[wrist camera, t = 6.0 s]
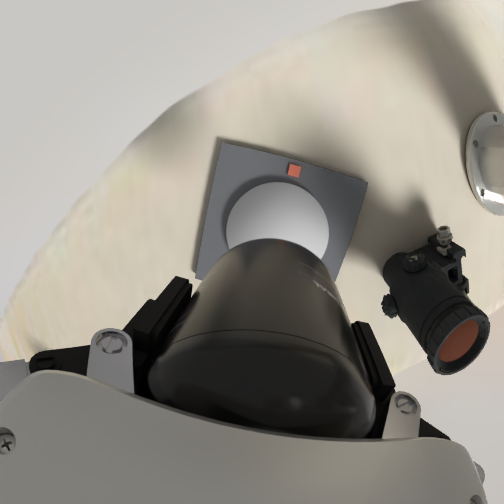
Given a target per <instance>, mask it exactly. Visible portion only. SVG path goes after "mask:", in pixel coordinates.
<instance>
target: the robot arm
mask: <svg viewBox="0 0 504 504" xmlns="http://www.w3.org/2000/svg"><path fill="white" fill-rule="evenodd" d="M466 167H467V174H468V178H469V182H470V185H471V188H472V190H473V193H474V195H475V197H476V199H477V200H478V202H479V203H480V204H481V206H482V207H483V208H484V209H485V210H487V211H488V212H490V213H492V214H494V215H498V216H504V115H502V114H500V113H498V112H487V113H483V114H481V115H479V116H478V117H477V118H476V119H475V120H474V122H473V123H472V125H471V127H470V130H469V133H468V137H467V142H466ZM191 293H192V284H190V283H189V280H188V279H185V278H181V277H178V276H175V277H174V279H173V280H172V281H171V282H170V283H169V284H168V286H167V287H166V288H165V289H164V290H163V292H162V293H161V294H160V295H159V297H158V298H157V299H156V300H152V299H149V300H148V301H147V302H146V303H145V304H144V305H143V306H142V307H141V309H140V310H139V311H138V312H137V313H136V315H135V316H134V317H133V318H132V319H131V320H130V322H129V323H128V324H127V325H126V326H125V328H124V329H123V330H122V331H121V330H119V329H114V328H107V329H103V330H100V331H98V332H96V333H95V335H94V336H93V337H92V340H91V345H87V346H79V347H72V348H64V349H56V350H47V351H42V352H39V353H37V354H35V355H34V356H33V357H32V358H31V360H30V362H25V359H22V360H15V361H7V362H0V504H487V500H486V496H485V492H484V489H483V486H482V484H483V482H484V478H485V474H484V470H483V469H482V467H481V466H480V465H478V464H477V463H475V462H474V461H473V460H472V458H471V457H470V455H469V453H468V451H467V450H466V448H465V447H463V446H462V445H460V444H458V443H456V442H454V441H451V440H450V438H449V437H448V436H447V435H445V434H444V433H442V432H441V431H439V430H438V429H436V428H435V427H433V426H432V425H430V424H429V423H428V422H426V421H424V420H423V419H422V418H420V412H421V408H420V404H419V402H418V401H417V399H416V398H415V397H414V396H412V395H411V394H409V393H406V392H401V391H399V392H395V389H394V387H395V382H394V380H393V377H392V375H391V373H390V370H389V368H388V365H387V363H386V361H385V358H384V356H383V354H382V351H381V349H380V347H379V345H378V342H377V340H376V338H375V336H374V334H373V331H372V329H371V327H370V325H369V323H365V322H360V321H356V322H355V323H352V324H351V326H352V329H353V331H354V334H355V337H356V340H357V343H358V346H359V348H360V351H361V354H362V357H363V360H364V363H365V366H366V369H367V373H368V376H369V379H370V382H371V386H372V389H373V392H374V397H375V402H376V410H377V414H376V423H375V427H374V430H373V433H372V436H371V438H370V439H348V438H328V437H315V436H304V435H295V434H287V433H280V432H273V431H267V430H261V429H256V428H250V427H245V426H240V425H236V424H231V423H227V422H222V421H218V420H214V419H210V418H207V417H203V416H199V415H196V414H192V413H189V412H185V411H182V410H179V409H176V408H173V407H170V406H167V405H164V404H161V403H158V402H155V401H152V400H149V399H146V398H144V397H141V396H138V395H137V390H138V385H139V382H140V380H141V378H142V376H143V374H144V372H145V370H146V368H147V366H148V364H149V363H150V361H151V359H152V358H153V356H154V355H155V353H156V351H157V350H158V348H159V347H160V345H161V343H162V342H163V340H164V339H165V337H166V336H167V334H168V332H169V331H170V329H171V328H172V326H173V325H174V323H175V322H176V320H177V319H178V317H179V315H180V314H181V312H182V311H183V309H184V308H185V306H186V305H187V303H188V302H189V300H190V299H191Z"/></svg>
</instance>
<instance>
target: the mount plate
mask: <svg viewBox="0 0 504 504" xmlns="http://www.w3.org/2000/svg"><path fill="white" fill-rule="evenodd" d="M367 185H368V182H365V181H362V180H359V179H356V178H353V177H350V176H347V175H344V174H341V173H338V172H335V171H332V170H329V169H326V168H322V167H319V166H316V165H312V164H309V163H305V162H302V161H298V160H294V159H291V158H287V157H283V156H279V155H275V154H271V153H267V152H263V151H259V150H255V149H250V148H246V147H241V146H236V145H232V144H227V143H222V144H221V149H220V153H219V157H218V162H217V166H216V171H215V175H214V180H213V185H212V189H211V194H210V199H209V204H208V209H207V214H206V219H205V224H204V230H203V235H202V241H201V246H200V252H199V258H198V264H197V270H196V276H195V278H196V279H199V280H203V279H204V277H205V276H206V274H207V273H208V272H209V270H210V269H211V268H212V266H213V265H214V263H215V262H216V261H217V260H218V259H219V258H220V257H221V256H222V255H223V254H224V253H226V252H227V251H228V250H230V249H231V248H233V247H235V246H237V245H239V244H241V243H244V242H247V241H250V240H254V239H261V238H277V239H283V240H288V241H291V242H294V243H297V244H299V245H301V246H303V247H305V248H307V249H308V250H310V251H311V252H313V253H314V254H315V255H316V256H317V257H318V258H320V259H321V261H322V262H323V263H324V264H325V266H326V267H327V268H328V270H329V271H330V273H331V275H332V277H333V280H334V282H335V281H336V278H337V275H338V273H339V270H340V267H341V265H342V262H343V259H344V257H345V254H346V251H347V248H348V245H349V242H350V239H351V236H352V234H353V231H354V228H355V224H356V221H357V218H358V215H359V212H360V209H361V206H362V202H363V199H364V196H365V192H366V189H367Z"/></svg>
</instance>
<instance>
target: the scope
mask: <svg viewBox="0 0 504 504" xmlns="http://www.w3.org/2000/svg"><path fill="white" fill-rule="evenodd" d="M452 238H453V236H452V233H451V232H450V228H449V227H448V226H441V227H439V228H438V229H437V234H435V235H433V236H431V237H429V238H428V242H430V243H431V245H427V246H424V247H422V248H419V249H417V250H415V251H413V252H410V253H398V254H395V255H393V256H392V257H391V258H390V259H389V260H388V261H387V262H386V264H385V266H384V270H383V277H384V280H385V282H386V283H387V285H388V286H389V287H390V294H387V295H384V297H383V301H382V303H381V305H383V306H382V309H383V312H384V313H385V315H387V316H389V317H390V318H393V317H396V316H397V314H398V316H399V317H400V319H401V321H402V322H404V323H405V324H406V325H407V326H408V328H409V329H410V331H411V332H412V334H413V335H414V336H415V338H416V339H417V341H418V342H419V344H420V345H421V347H422V348H423V350H424V351H425V353H426V354H427V355H428V356H427V359H428V361H429V363H430V365H431V367H432V368H433V369H434V371H435V372H436V373H438V374H441V375H451V374H454V373H457V372H458V371H461V370H462V369H464V368H466V367H467V366H468V365H469V364H470V363H471V362H473V361H474V360H475V359H476V358H477V356H478V355H479V354H480V352H481V351H482V349H483V348H484V346H485V344H486V342H487V339H488V336H489V332H490V322H489V321H488V317H487V315H486V314H485V313H484V312H483V311H481V310H480V309H479V308H478V307H477V306H475V305H474V304H473V303H472V302H471V300H470V299H469V297H468V296H467V294H468V293H469V281H468V279H467V278H466V277H465V276H463V275H462V267H461V258H462V256H465V257H466V252H465V249H464V248H462V247H461V246H459V245H457V244H456V243H454V242H452Z"/></svg>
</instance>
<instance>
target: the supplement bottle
mask: <svg viewBox="0 0 504 504" xmlns="http://www.w3.org/2000/svg"><path fill="white" fill-rule="evenodd" d="M137 395H138V396H141V397H144V398H146V399H149V400H152V401H155V402H158V403H161V404H164V405H167V406H170V407H173V408H176V409H179V410H182V411H185V412H189V413H192V414H196V415H199V416H203V417H207V418H210V419H214V420H218V421H222V422H227V423H231V424H236V425H240V426H245V427H250V428H256V429H261V430H267V431H273V432H280V433H287V434H295V435H304V436H315V437H328V438H348V439H370V438H371V436H372V433H373V430H374V427H375V423H376V414H377V410H376V402H375V397H374V392H373V389H372V386H371V382H370V379H369V376H368V373H367V369H366V366H365V363H364V360H363V357H362V354H361V351H360V348H359V346H358V343H357V340H356V337H355V334H354V331H353V329H352V326H351V323H350V320H349V318H348V315H347V312H346V310H345V307H344V304H343V302H342V299H341V297H340V294H339V291H338V289H337V286H336V284H335V282H334V280H333V277H332V275H331V273H330V271H329V270H328V268H327V267H326V266H325V264H324V263H323V262H322V261H321V259H320V258H318V257H317V256H316V255H315V254H314V253H313V252H311V251H310V250H308V249H307V248H305V247H303V246H301V245H299V244H297V243H294V242H291V241H288V240H283V239H277V238H261V239H254V240H250V241H247V242H244V243H241V244H239V245H237V246H235V247H233V248H231V249H230V250H228V251H227V252H226V253H224V254H223V255H222V256H221V257H220V258H219V259H218V260H217V261H216V262H215V263H214V265H213V266H212V268H211V269H210V270H209V272H208V273H207V274H206V276H205V277H204V279H203V280H202V282H201V283H200V285H199V286H198V288H197V289H196V291H195V293H194V294H193V296H192V297H191V299H190V300H189V302H188V303H187V305H186V306H185V308H184V309H183V311H182V312H181V314H180V315H179V317H178V319H177V320H176V322H175V323H174V325H173V326H172V328H171V329H170V331H169V332H168V334H167V336H166V337H165V339H164V340H163V342H162V343H161V345H160V347H159V348H158V350H157V351H156V353H155V355H154V356H153V358H152V359H151V361H150V363H149V364H148V366H147V368H146V370H145V372H144V374H143V376H142V378H141V380H140V382H139V385H138V390H137Z"/></svg>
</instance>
